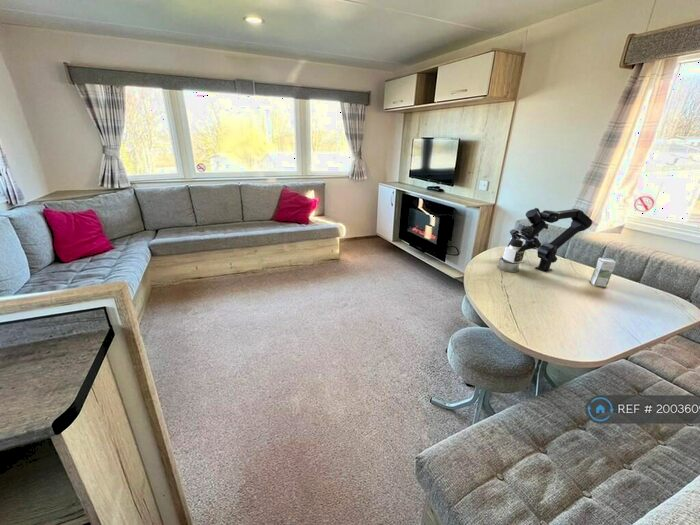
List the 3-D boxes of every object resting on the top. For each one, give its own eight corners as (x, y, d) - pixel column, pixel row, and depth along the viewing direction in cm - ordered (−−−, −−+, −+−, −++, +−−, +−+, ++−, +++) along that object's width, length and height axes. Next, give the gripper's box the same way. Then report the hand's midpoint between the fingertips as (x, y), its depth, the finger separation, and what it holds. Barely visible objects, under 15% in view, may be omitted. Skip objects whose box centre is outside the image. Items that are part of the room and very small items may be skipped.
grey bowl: (504, 263, 188) (506, 255, 186) (521, 269, 181) (523, 261, 179) (494, 267, 183) (496, 258, 181) (511, 273, 175) (513, 264, 173)
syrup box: (602, 283, 167) (611, 258, 162) (606, 287, 162) (616, 262, 157) (589, 281, 169) (598, 256, 164) (593, 285, 164) (603, 260, 158)
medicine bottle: (513, 263, 170) (518, 242, 166) (502, 258, 176) (507, 238, 172) (522, 261, 173) (527, 241, 169) (511, 257, 179) (515, 237, 175)
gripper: (516, 215, 175) (495, 234, 177) (542, 223, 158) (518, 245, 160) (524, 228, 180) (504, 247, 182) (550, 237, 163) (527, 258, 165)
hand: (513, 249), depth 172 cm, fingers closed on medicine bottle, 8 cm apart
